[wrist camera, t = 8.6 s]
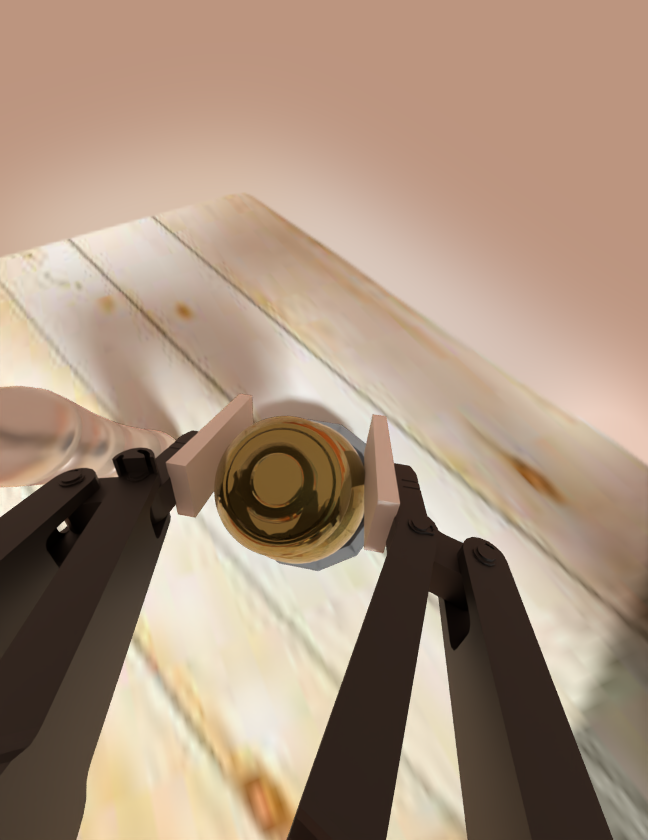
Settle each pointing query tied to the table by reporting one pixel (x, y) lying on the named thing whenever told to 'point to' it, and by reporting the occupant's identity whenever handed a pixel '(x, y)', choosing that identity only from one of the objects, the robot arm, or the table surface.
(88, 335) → the table surface
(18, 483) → the plastic bottle
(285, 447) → the gold pawn
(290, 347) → the table surface
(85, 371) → the table surface
